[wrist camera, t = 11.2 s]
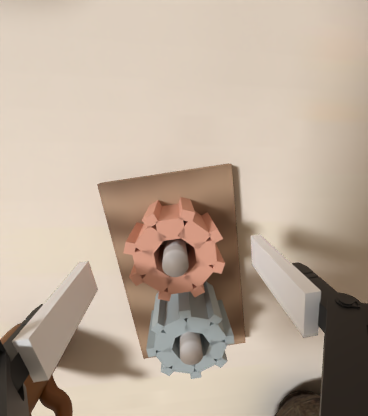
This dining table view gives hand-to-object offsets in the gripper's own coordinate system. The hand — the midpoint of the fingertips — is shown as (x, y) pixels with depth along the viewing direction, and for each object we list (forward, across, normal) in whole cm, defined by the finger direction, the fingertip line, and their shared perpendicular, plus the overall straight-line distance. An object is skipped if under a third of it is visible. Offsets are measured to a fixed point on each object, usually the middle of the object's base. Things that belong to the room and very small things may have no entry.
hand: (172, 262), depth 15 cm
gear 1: (+6, 0, 0) cm, 6 cm away
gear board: (+7, 0, -6) cm, 9 cm away
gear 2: (+6, 0, -11) cm, 12 cm away
